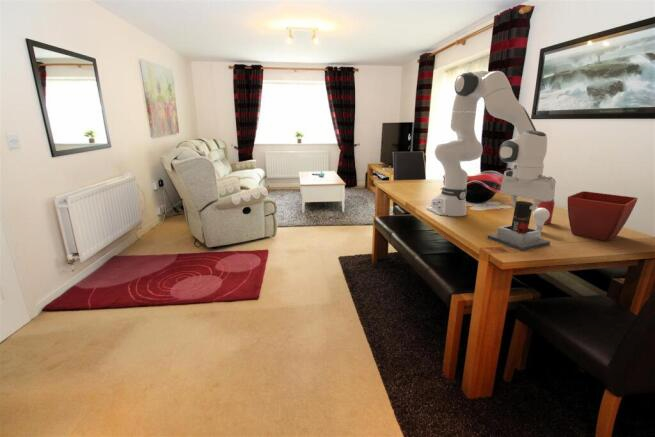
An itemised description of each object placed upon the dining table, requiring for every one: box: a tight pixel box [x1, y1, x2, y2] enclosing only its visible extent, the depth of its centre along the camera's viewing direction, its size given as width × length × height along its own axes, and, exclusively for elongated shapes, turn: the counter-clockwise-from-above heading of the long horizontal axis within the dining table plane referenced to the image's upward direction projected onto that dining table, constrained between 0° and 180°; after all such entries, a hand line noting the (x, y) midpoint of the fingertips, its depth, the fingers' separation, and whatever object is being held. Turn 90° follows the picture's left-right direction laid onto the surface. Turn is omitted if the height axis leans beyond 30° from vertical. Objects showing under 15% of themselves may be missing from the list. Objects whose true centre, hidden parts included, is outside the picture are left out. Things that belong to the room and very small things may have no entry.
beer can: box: [536, 198, 555, 225], centre depth 155 cm, size 7×7×12 cm
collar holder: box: [486, 224, 551, 252], centre depth 131 cm, size 16×16×6 cm
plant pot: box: [567, 190, 639, 242], centre depth 136 cm, size 19×19×17 cm
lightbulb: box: [532, 207, 550, 232], centre depth 142 cm, size 6×6×11 cm
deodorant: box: [511, 200, 534, 233], centre depth 129 cm, size 6×6×15 cm
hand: (523, 208), depth 128 cm, fingers closed on deodorant, 6 cm apart
